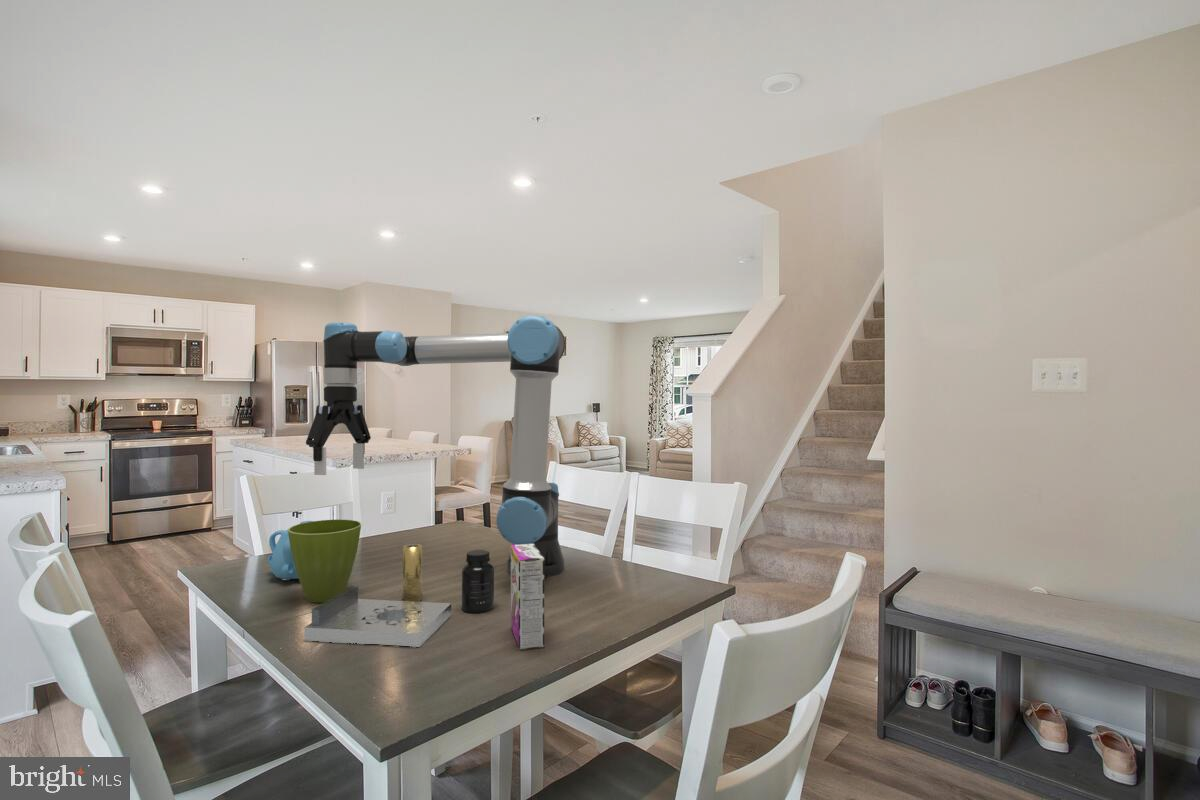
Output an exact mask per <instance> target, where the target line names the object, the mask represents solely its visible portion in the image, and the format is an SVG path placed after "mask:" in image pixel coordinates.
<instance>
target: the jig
mask: <svg viewBox="0 0 1200 800" xmlns="http://www.w3.org/2000/svg"><path fill="white" fill-rule="evenodd" d="M451 616H452V603H451V602H450V603H449V602H448V603H447V602H431V601H430V602H427V601H425V602H424V601H419V602H412V601H403V600H388V599H387V600H385V599H369V598H368V599H366V598H359V586H358V585H351V586H349V587H346V589H345V590H344V591H342V592H341V593H339V594H337V595H336V596H334V597H332V598H330V599H329V600H327V601H325V602H321V603H320V604H319V605H317V606H314V607H313V608H312V609H311V623H309V624H308V625H306V626H304V628H303V632H304V634H303V635H304V636H303V641H304V642H312V641H319V642H318V643H329V642H332V643H333V644H347V643H348V644H349V643H351V644H352V645H364V644H383V645H385V644H386V645H401V646H402V645H403V646H410V647H409V648H416V647H419V648H420V647H421V646H423V644H425V643H426V642H427V641H428V639H429V638H430V637H432V636H433V634H434V633H435V632H436V631H437V630H438V629H440V627H441V626H442V625H443V624H444V623H446V621H447V620H448V619H450V617H451ZM353 643H354V644H353ZM355 643H357V644H355ZM348 644H347V645H348ZM351 644H350V645H351ZM411 646H412V647H411Z"/></svg>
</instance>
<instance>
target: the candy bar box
mask: <svg viewBox="0 0 1200 800" xmlns="http://www.w3.org/2000/svg"><path fill="white" fill-rule="evenodd" d="M510 550H511V574H510V628H511V631H512V634H513V636H514V639H515V641H516V644H517V647H518V650H520V651H522V650H531V649H540V648H544V647H545V577H544V557H543V556H542V555H541V553H540V552H539V550H538V549H537V547H536V546H535V545H534V544H520V545H518V544H515V545H512V544H511V545H510Z"/></svg>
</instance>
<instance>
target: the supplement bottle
mask: <svg viewBox="0 0 1200 800" xmlns="http://www.w3.org/2000/svg"><path fill="white" fill-rule="evenodd" d="M490 560H491V559H490V551H488V550H486V549H473V550H469V551H467V552H466V561H465V562H466V564H465V565H464V566H463V567H462V569H461V609H462V610H463V611H464V612H465V613H469V612H470V614H481V612H482V613H486V612H488V611H490V610H492V609H493V608H494V603H495V567H494V565H492V563H490Z"/></svg>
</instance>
